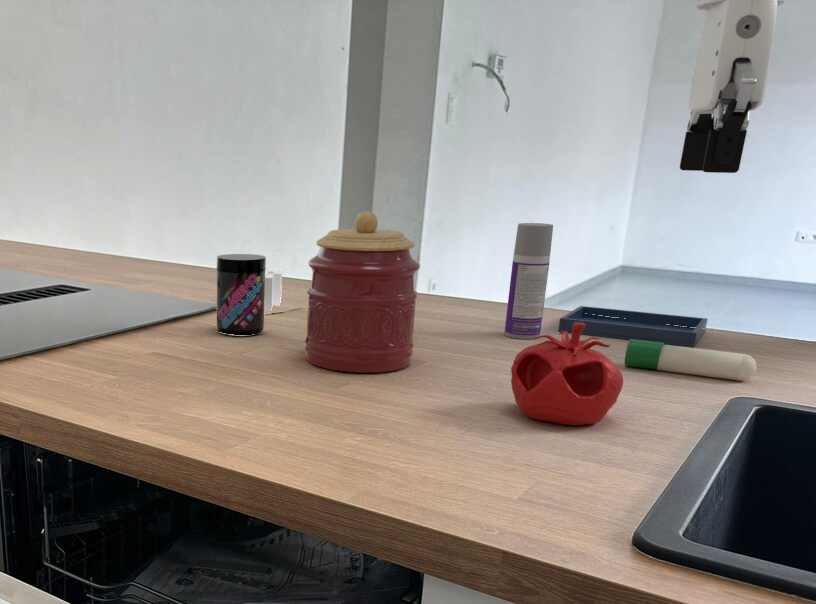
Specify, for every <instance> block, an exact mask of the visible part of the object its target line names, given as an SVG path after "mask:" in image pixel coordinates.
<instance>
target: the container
mask: <svg viewBox="0 0 816 604" xmlns="http://www.w3.org/2000/svg"><path fill="white" fill-rule="evenodd" d="M553 232H554V224H551V223H542V222H520V223H518V224H517V229H516V236H515V243H514V248H513V249H514V250H513V255H512V256H513V257H512V263H511V274H510V282H509V290H508V298H507V308H506V315H505V324H504V336H505V337H508V338H512V339H518V340H519V339H520V340H535V339H534V338H536V337H539V336H541V329H542V323H543V314H544V308H545V307H544V306H545V301H546V300H545V299H546V292H547V284H548V277H549V270H550V262H551V261H550V260H551V252H552V242H553Z"/></svg>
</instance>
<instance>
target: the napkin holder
mask: <svg viewBox="0 0 816 604" xmlns="http://www.w3.org/2000/svg"><path fill="white" fill-rule="evenodd" d="M282 289H283V268H282V267H268V268H267V271H266V272H265V302H264V310H268V311H272V307H273V305H275V306H280V303H281V299H282V294H283V293H282V292H283V291H282Z"/></svg>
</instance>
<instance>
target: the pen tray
mask: <svg viewBox="0 0 816 604" xmlns="http://www.w3.org/2000/svg"><path fill="white" fill-rule="evenodd" d="M585 313H587V314H585ZM592 314H595V315H592ZM598 315H603V316H598ZM605 316H610V317H605ZM611 317H619V318H611ZM624 318H626V319H624ZM574 322H580V323H582V322H583V323H584V324H585V328H584V329H583V331H582V333H581V335H585V336H592V337H601V338H609V339H610V338H611V339H618V340H619V339H620V340H628V341H630V339H634V340H643V341H651V342H660V343H664V345H671V346H680V347H688V348H695V347H696V345H697V343H698V342H699V341H700V339H701V338H702V337H703V336H704V334H705V333H706V329H707V324H708V318H707V317H704V318H703V317H695V316H688V315H687V316H685V315H677V314H667V313H658V312H657V313H656V312H655V313H654V312H647V311H646V312H645V311H638V310H637V311H636V310H626V309H617V308H616V309H615V308H606V307H596V306H587V305H586V306H585V305H579V306H577V307H576V308H574V309H573V310H571V311H569V312H567V314H565V315H563V316H562V317H560V318H559V323H558V332H560V333H561V332H562V331H567V332H568V334H569V333H570V334H572V332H573V324H574ZM666 324H670V325H666ZM674 325H679V326H674ZM680 326H681V327H680ZM682 326H687V327H682ZM690 327H696V328H690ZM702 328H706V329H702Z"/></svg>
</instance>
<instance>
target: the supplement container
mask: <svg viewBox="0 0 816 604" xmlns="http://www.w3.org/2000/svg"><path fill="white" fill-rule="evenodd" d="M266 264H267V257H266V256H265V255H262V254H252V253H228V254H227V253H226V254H220V255H217V256H216V268H215V269H216V306H217V308H216V330H217V332H218V333H219V332H222V333H226V334H234V335H252V334H258V333H260V334H262V332H263V331H264V329H265V316H264V302H265V274H266V269H267V266H266ZM258 335H259V334H258Z"/></svg>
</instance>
